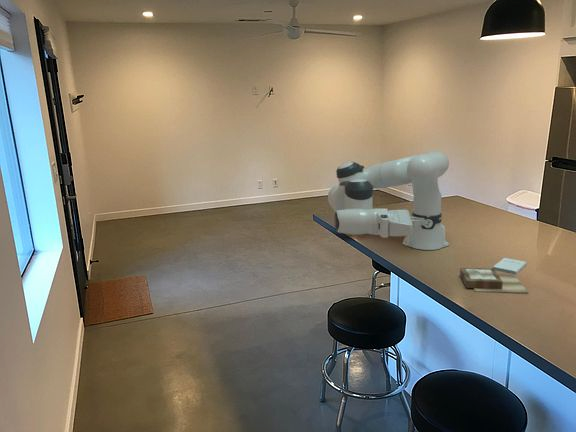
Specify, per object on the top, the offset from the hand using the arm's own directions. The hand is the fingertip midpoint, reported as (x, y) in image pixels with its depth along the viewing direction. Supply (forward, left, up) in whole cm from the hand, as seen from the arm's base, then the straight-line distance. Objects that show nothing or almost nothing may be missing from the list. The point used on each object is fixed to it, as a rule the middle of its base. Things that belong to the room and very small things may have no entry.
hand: (424, 221), depth 156 cm
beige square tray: (-1, +24, -21) cm, 32 cm away
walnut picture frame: (-1, +13, -20) cm, 24 cm away
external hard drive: (-17, +32, -22) cm, 43 cm away
